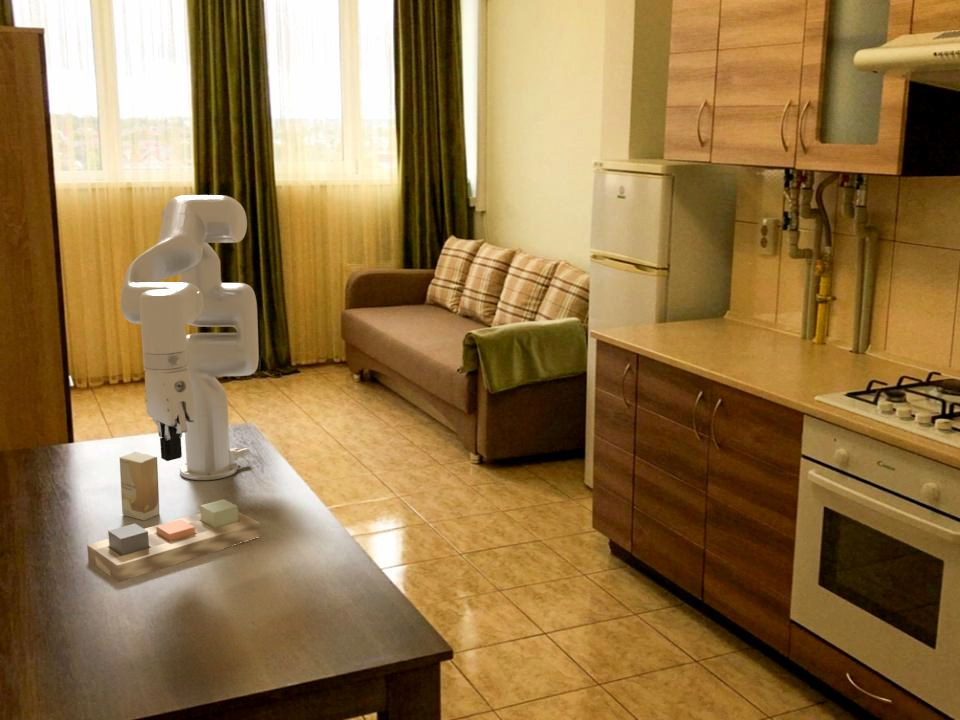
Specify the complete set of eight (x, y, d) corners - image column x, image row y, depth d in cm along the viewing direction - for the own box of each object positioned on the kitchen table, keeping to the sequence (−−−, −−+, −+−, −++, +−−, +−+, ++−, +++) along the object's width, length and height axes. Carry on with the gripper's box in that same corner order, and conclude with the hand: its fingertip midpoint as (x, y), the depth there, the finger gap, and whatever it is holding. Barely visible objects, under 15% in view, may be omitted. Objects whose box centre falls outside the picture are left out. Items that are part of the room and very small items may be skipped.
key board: (227, 520, 201) (226, 505, 201) (260, 537, 193) (259, 522, 192) (88, 560, 182) (87, 544, 182) (118, 581, 174) (117, 565, 173)
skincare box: (121, 515, 203) (117, 456, 201) (138, 508, 207) (134, 451, 204) (145, 521, 200) (141, 462, 198) (161, 514, 204) (157, 456, 201)
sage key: (224, 517, 197) (223, 499, 196) (238, 525, 193) (237, 506, 192) (201, 524, 193) (200, 505, 193) (214, 532, 190) (213, 512, 189)
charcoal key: (136, 543, 185) (134, 523, 184) (149, 551, 181) (148, 531, 180) (109, 550, 181) (108, 530, 180) (122, 559, 178) (120, 539, 177)
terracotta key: (182, 538, 191) (181, 519, 190) (195, 546, 188) (194, 526, 187) (157, 545, 188) (156, 526, 187) (170, 553, 184) (169, 534, 183)
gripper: (206, 364, 178) (211, 464, 182) (164, 349, 188) (170, 444, 192) (166, 371, 173) (172, 473, 177) (125, 355, 183) (133, 453, 187)
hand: (171, 458), depth 185 cm, fingers closed
